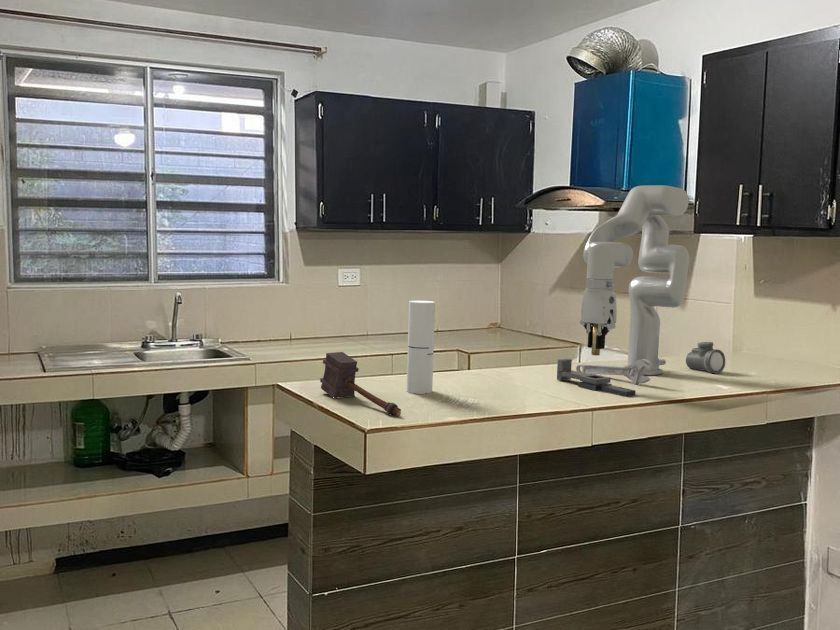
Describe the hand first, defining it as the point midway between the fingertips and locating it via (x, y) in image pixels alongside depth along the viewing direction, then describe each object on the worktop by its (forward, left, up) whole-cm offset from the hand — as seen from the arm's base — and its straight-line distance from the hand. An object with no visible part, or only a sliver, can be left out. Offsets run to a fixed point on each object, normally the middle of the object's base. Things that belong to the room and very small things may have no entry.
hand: (595, 347), depth 234 cm
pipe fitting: (-57, -3, -12) cm, 59 cm away
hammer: (+71, -14, -12) cm, 74 cm away
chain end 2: (0, +5, -12) cm, 13 cm away
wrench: (-16, -7, -12) cm, 21 cm away
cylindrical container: (+49, -20, -12) cm, 54 cm away
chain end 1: (0, -5, -12) cm, 13 cm away
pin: (0, 0, -2) cm, 2 cm away
